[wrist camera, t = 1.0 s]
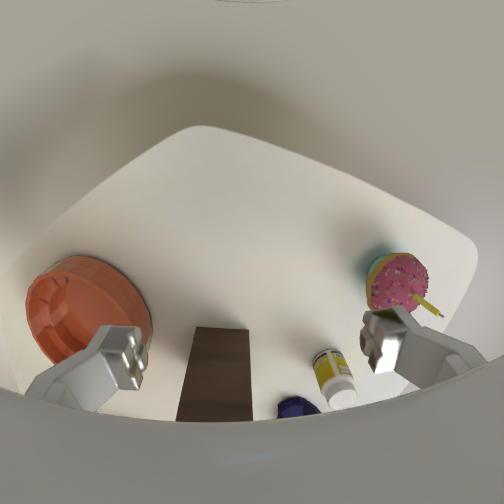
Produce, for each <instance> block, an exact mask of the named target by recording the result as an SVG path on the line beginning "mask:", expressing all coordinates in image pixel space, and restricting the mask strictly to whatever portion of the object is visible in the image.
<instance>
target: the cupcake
mask: <svg viewBox="0 0 504 504" xmlns="http://www.w3.org/2000/svg"><path fill="white" fill-rule="evenodd" d="M428 279H429V277H428V275H427V271H426V268H425V267H424V266H423V265H422V264H421V263H420V261H419V260H418V259H417V258H416V257H415V256H413V255H412V254H409V253H392V254H390V255H389V256H382V257H380V258H378V259H376V260H375V261H374V262H373V263H372V265H371V266H370V268H369V271H368V278H367V281H366V296H367V305H368V307H369V308H370V310H377V309H383V308H389V307H392V306H397V305H402V306H403V307H404V308H405V309H406V310H407V311H408V312H409V313H410V312H412V311H414V310H415V309H416V308H417V306H418V305H420V304H421V305H422V306H424V307H425V308H426V309H428V310H429V311H430V312H432V313H433V314H434V315H436V316H441V317H442V318H444V316H443V315H441V314H440V311H439V310H438V309H436V308H435V307H434V306H432V305H431V304H430V303H428V302H427V301H425V300H424V299H423V298H424V297H425V296H424V295H425V293H427V292H426V291H427V288H428V285H427V283H428V281H427V280H428Z"/></svg>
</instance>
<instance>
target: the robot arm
mask: <svg viewBox="0 0 504 504" xmlns="http://www.w3.org/2000/svg"><path fill="white" fill-rule="evenodd" d="M363 323H364V324H365V326H364V327H363V329H362V330H361V332H360V347H361V350H362V352H363V354H364V355H366V356H368V357H369V360H368V363H369V365H370V367H371V369H372V371H373V373H374V374H377V373H382V372H387V371H392V370H395V372H397V373H398V374H400V375H401V376H403V377H404V378H406V379H407V380H408V381H410V382H411V383H413V384H415V385H416V386H417V387H419V388H421V389H420V390H417V391H414V392H411V393H407V394H404V395H401V396H397V397H394V398H390V399H386V400H383V401H379V402H375V403H370V404H366V405H362V406H357V407H353V408H348V409H343V410H337V411H332V412H326V413H320V414H313V415H306V416H299V417H291V418H282V419H271V420H259V421H242V422H177V421H161V420H148V419H138V418H129V417H122V416H114V415H108V414H102V413H96V412H95V411H96V410H97V409H98V408H99V407H101V406H102V405H103V404H104V403H105V402H106V401H107V400H108V399H109V398H110V397H111V396H112V395H114V394H115V393H116V392H117V391H118V389H123V390H139V388H140V386H141V383H142V380H143V376H142V372H143V371H144V370H146V368H147V365H148V352H147V348H146V345H145V344H144V343H143V342H142V341H141V338H142V336H143V335H142V332H141V329H140V328H139V327H138V326H122V325H101V326H100V327H99V329H98V330H97V332H96V333H95V335H94V337H93V338H92V340H91V341H90V343H89V344H88V346H87V348H86V349H85V350H80V351H79V352H77V353H75V354H73V355H72V356H70V357H68V358H67V359H65V360H63V361H61V362H60V363H58V364H56V365H54V366H53V367H51V368H49V369H48V370H46V371H44V372H42V373H41V374H39V375H37V376H36V377H35V379H34V380H33V382H32V383H31V385H30V387H29V388H28V390H27V391H26V393H25V394H24V395H22V394H19V393H16V392H13V391H10V390H7V389H4V388H2V387H0V504H504V355H503V356H501V357H499V358H497V359H494V360H492V361H491V362H487V361H486V359H485V358H484V357H483V356H482V355H481V354H480V353H479V351H478V350H477V349H476V348H475V347H474V346H472V345H470V344H467V343H465V342H462V341H460V340H457V339H455V338H452V337H450V336H447V335H445V334H442V333H440V332H437V331H435V330H432V329H430V328H427V327H421V326H420V325H419V323H418V322H417V321H416V320H415V319H414V318H413V317H412V315H411V314H410V313H409V312H408V311H407V310H406V309H405V308H404V307H403V306H402V305H397V306H392V307H389V308H383V309H377V310H371V311H365V313H364V315H363Z"/></svg>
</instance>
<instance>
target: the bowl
mask: <svg viewBox="0 0 504 504" xmlns="http://www.w3.org/2000/svg"><path fill="white" fill-rule="evenodd" d="M25 305H26V315H27V321H28V324H29V327H30V329H31V332H32V335H33V337H34V339H35V340H36V342H37V344H38V345H39V347H40V348H41V350H42V351H43V353H44V354H45V355H46V356H47V357H48V358H49V359H50V360H51V362H52V363H53V364H54V365H56V364H58V363H60V362H61V361H63V360H65V359H67V358H68V357H70V356H72V355H73V354H75V353H77V352H79V351H80V350H85V349H86V348H87V346H88V344H89V343H90V341H91V340H92V338H93V337H94V335H95V333H96V332H97V330H98V329H99V327H100V326H101V325H122V326H138V327H139V328H140V329H141V332H142V335H143V336H142V338H141V341H142V342H143V343H144V344H145V345H146V348H147V351H148V349H149V346H150V341H151V335H152V326H151V321H150V315H149V311H148V309H147V307H146V305H145V303H144V301H143V299H142V297H141V295H140V294H139V292H138V291H137V290H136V289H135V288H134V287H133V285H132V284H131V283H130V282H129V281H128V279H127V278H126V277H125V276H124V275H122V274H121V273H119V272H118V271H117V270H115V269H114V268H113V267H111V266H110V265H108V264H107V263H104V262H102V261H99V260H96V259H94V258H91V257H81V256H71V257H68V258H66V259H64V260H62V261H59V262H57V263H56V264H54V265H53V266H52V267H50V268H49V269H47V270H46V271H45V272H43V273H42V274H41V275H39V276H38V277H37V278H36V279H35V280H34V282H33V283H32V284H31V286H30V287H29V289H28V293H27V297H26V302H25Z"/></svg>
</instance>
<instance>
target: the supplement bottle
mask: <svg viewBox="0 0 504 504" xmlns="http://www.w3.org/2000/svg"><path fill="white" fill-rule="evenodd" d="M313 369H314V372H315V375H316V378H317V381H318V384H319V387H320V390H321V393H322V395H323V397H325V398H326V400H327V402H328V405H329V407H330V408H332V409H343V408H346V407H348V406H350V405H351V404H352V403H353V402H354V401H355V400H356V398H357V392H356V389H355V387H354V386H355V381H354V378H353V376H352V374H351V372H350V370H349V367H348V365H347V363H346V361H345V359H344V357H343V355H342V353H341V352H340V351H338V350H335V349H329V350H325V351H323V352H321V353H319V354H318V355H317V356H316V357H315V359H314V361H313Z"/></svg>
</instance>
